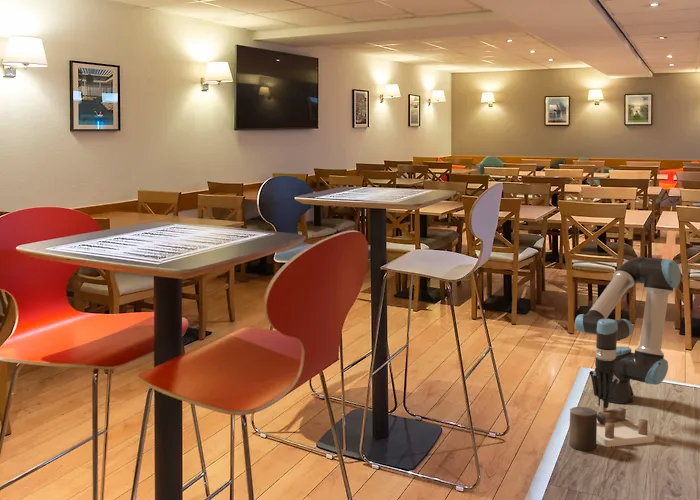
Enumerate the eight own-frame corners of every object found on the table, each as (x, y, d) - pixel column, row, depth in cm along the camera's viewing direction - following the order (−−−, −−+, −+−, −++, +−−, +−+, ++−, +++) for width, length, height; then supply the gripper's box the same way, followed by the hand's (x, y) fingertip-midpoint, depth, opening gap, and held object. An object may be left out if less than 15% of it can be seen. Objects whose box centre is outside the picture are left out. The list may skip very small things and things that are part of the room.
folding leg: (620, 416, 267) (621, 407, 267) (627, 420, 264) (628, 410, 263) (596, 422, 263) (596, 412, 262) (603, 425, 259) (603, 415, 259)
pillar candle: (596, 452, 241) (597, 413, 239) (568, 449, 245) (569, 410, 243) (596, 442, 250) (597, 404, 248) (569, 439, 254) (570, 401, 252)
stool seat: (623, 422, 269) (623, 404, 268) (654, 441, 249) (655, 423, 248) (578, 426, 265) (578, 408, 264) (606, 447, 246) (607, 427, 245)
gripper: (585, 355, 264) (583, 411, 267) (614, 364, 253) (611, 422, 257) (597, 352, 268) (595, 407, 271) (625, 360, 257) (622, 417, 261)
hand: (603, 414), depth 264 cm, fingers closed
